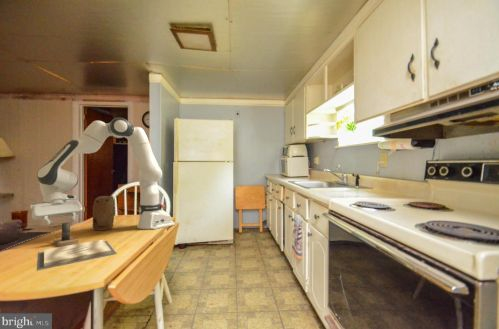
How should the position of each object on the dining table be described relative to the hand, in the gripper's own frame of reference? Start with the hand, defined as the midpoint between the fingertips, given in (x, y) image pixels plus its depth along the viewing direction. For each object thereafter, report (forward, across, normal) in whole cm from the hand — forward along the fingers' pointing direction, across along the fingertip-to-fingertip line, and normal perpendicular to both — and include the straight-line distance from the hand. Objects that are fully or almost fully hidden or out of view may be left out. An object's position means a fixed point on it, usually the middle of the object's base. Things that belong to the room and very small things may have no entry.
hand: (62, 222), depth 120 cm
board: (+24, -2, -11) cm, 27 cm away
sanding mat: (+25, -2, -10) cm, 27 cm away
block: (0, +24, +14) cm, 27 cm away
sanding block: (+11, 0, +4) cm, 11 cm away
